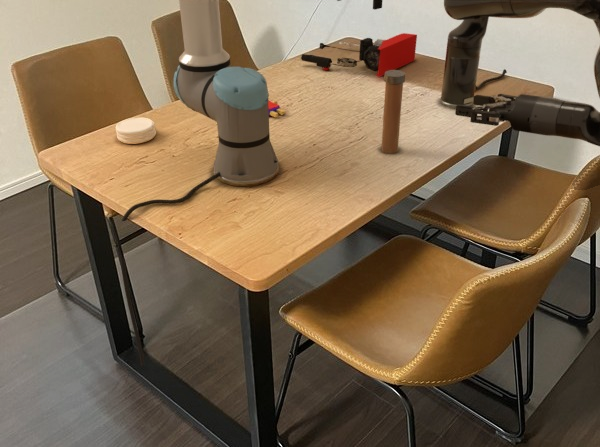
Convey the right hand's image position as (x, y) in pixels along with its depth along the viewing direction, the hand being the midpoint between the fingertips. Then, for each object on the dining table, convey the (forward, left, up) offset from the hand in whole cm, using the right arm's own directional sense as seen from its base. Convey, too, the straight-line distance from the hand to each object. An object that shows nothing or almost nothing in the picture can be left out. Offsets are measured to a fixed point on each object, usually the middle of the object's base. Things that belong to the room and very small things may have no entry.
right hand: (465, 104), depth 135 cm
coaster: (+31, -76, -16) cm, 84 cm away
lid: (-1, -19, +3) cm, 19 cm away
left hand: (-22, -42, +12) cm, 49 cm away
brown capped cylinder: (-1, -19, -16) cm, 25 cm away
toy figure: (-2, -60, -16) cm, 62 cm away
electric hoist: (-54, -62, -16) cm, 84 cm away
